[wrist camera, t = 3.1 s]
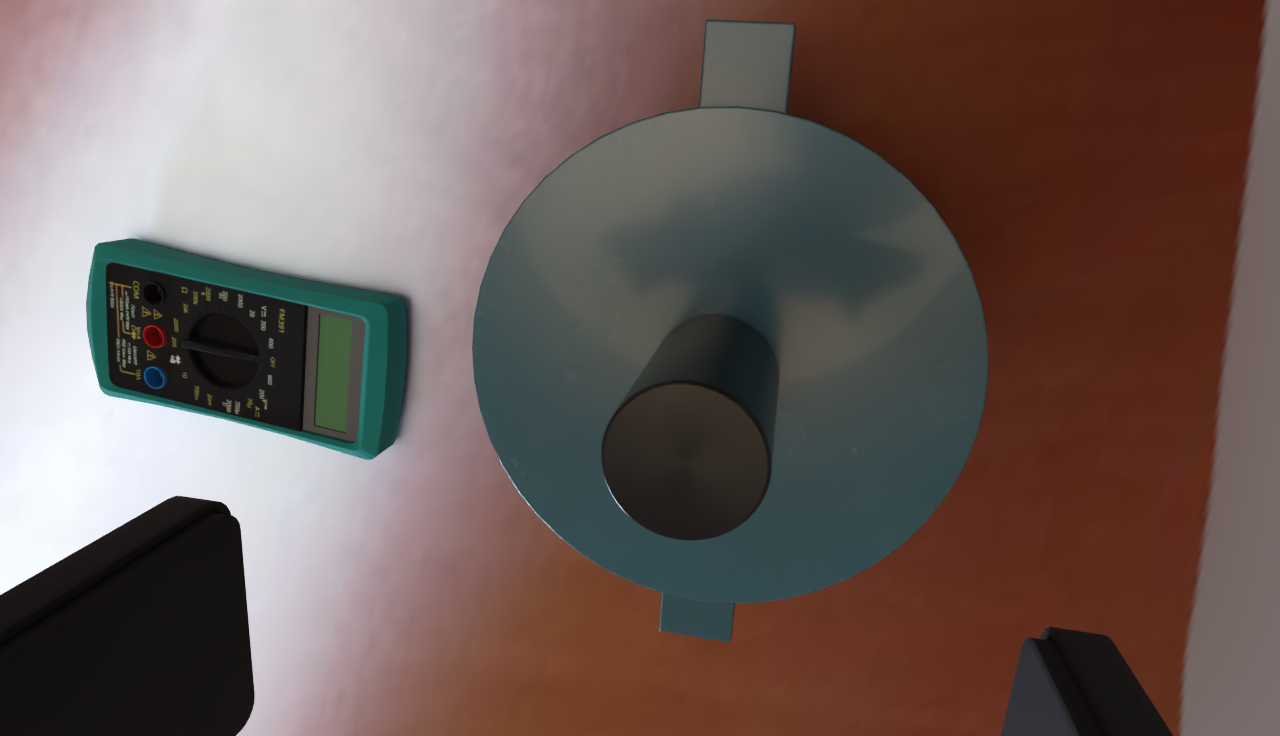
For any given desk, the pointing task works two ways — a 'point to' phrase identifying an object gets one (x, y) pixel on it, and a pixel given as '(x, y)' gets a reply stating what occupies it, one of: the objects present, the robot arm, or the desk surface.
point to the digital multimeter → (248, 345)
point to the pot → (755, 78)
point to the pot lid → (730, 354)
